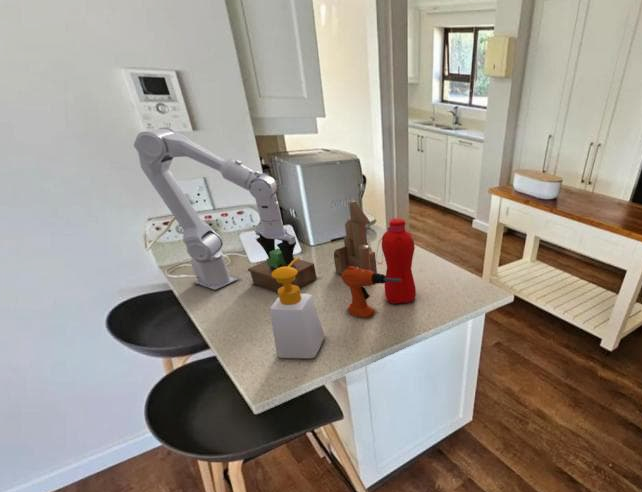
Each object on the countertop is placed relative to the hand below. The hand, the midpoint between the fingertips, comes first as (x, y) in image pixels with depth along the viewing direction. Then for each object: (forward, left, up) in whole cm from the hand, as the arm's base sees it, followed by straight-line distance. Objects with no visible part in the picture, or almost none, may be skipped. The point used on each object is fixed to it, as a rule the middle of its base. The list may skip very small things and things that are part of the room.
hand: (280, 260), depth 116 cm
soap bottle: (+30, -22, -8) cm, 38 cm away
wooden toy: (+18, +15, -8) cm, 24 cm away
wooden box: (0, 0, -8) cm, 8 cm away
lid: (0, 0, -3) cm, 3 cm away
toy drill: (+38, -3, -8) cm, 38 cm away
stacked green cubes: (0, 0, -2) cm, 2 cm away
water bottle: (+38, +9, -8) cm, 39 cm away
